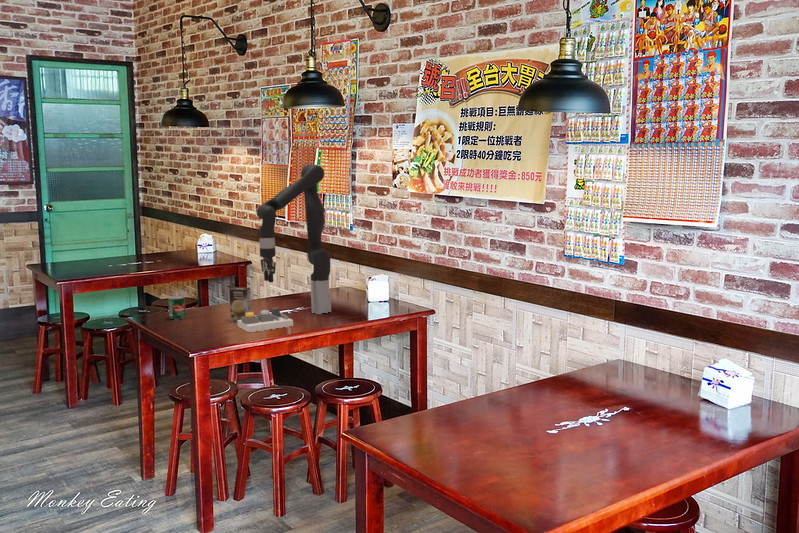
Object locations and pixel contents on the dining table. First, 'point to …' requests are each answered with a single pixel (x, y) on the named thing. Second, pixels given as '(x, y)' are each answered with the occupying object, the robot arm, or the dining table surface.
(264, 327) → the control panel
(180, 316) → the canned tomato
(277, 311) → the dark grey cube
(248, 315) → the amber button
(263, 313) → the grey switch
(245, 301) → the coffee box
